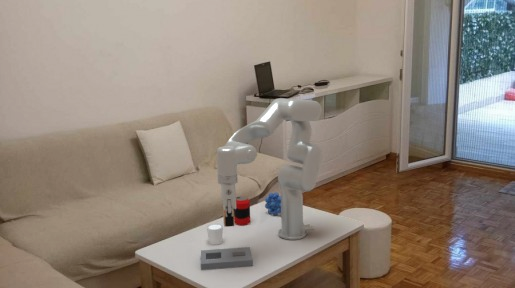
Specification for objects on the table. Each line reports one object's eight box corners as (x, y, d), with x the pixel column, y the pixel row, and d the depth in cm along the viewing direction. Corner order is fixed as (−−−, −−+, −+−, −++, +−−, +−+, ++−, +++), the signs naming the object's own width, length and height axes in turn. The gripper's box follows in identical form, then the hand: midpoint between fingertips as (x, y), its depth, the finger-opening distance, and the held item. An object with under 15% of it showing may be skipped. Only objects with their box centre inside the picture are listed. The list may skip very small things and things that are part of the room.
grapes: (289, 215, 243) (289, 191, 241) (281, 219, 238) (280, 195, 236) (270, 210, 251) (270, 187, 248) (262, 214, 246) (261, 191, 243)
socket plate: (250, 252, 204) (250, 246, 204) (252, 265, 193) (252, 259, 192) (201, 256, 203) (201, 250, 202) (201, 269, 191) (200, 263, 190)
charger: (233, 222, 196) (233, 203, 194) (234, 226, 192) (233, 206, 190) (223, 223, 196) (222, 203, 194) (224, 226, 192) (223, 207, 190)
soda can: (241, 218, 241) (239, 194, 239) (253, 221, 237) (252, 197, 234) (231, 223, 235) (230, 199, 233) (243, 226, 231) (242, 202, 228)
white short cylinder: (226, 239, 218) (225, 224, 216) (219, 246, 211) (219, 230, 210) (211, 237, 220) (210, 223, 218) (205, 244, 214) (204, 229, 212)
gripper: (239, 184, 182) (240, 231, 186) (235, 172, 198) (237, 215, 202) (218, 185, 181) (220, 232, 185) (216, 173, 198) (218, 216, 201)
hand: (229, 223), depth 194 cm, fingers closed on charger, 4 cm apart
